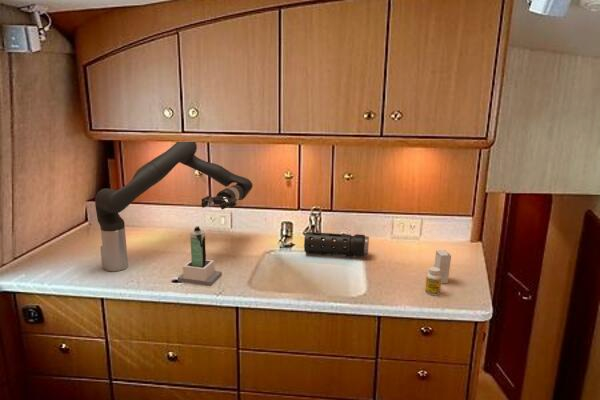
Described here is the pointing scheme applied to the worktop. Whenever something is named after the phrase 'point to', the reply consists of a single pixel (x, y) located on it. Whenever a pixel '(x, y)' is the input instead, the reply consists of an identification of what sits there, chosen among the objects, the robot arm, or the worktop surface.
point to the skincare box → (443, 264)
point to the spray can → (198, 248)
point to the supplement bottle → (433, 281)
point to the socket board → (200, 274)
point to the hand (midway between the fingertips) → (212, 206)
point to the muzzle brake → (336, 244)
